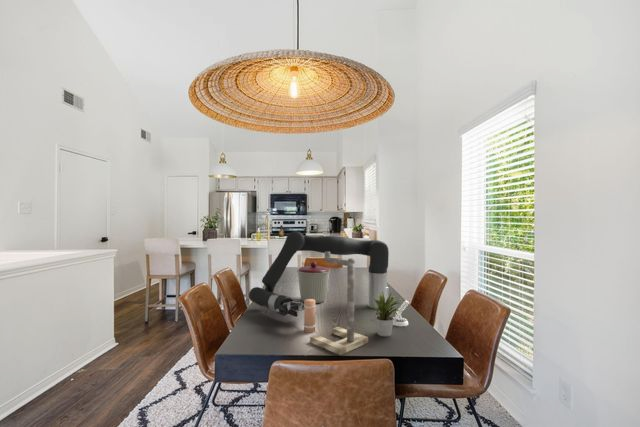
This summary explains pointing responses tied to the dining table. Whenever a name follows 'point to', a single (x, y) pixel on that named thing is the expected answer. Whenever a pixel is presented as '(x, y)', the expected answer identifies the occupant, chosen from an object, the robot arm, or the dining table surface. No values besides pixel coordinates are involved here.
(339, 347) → the wooden gallows stand
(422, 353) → the dining table surface
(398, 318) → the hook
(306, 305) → the orange cylindrical bottle
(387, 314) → the house plant
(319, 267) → the canister
